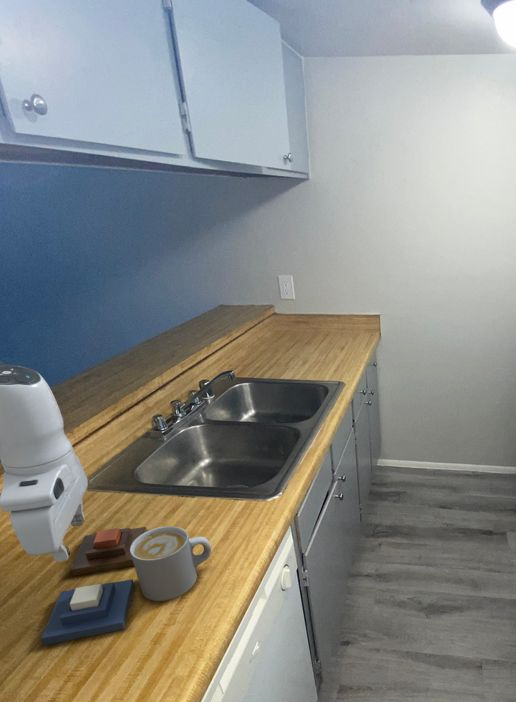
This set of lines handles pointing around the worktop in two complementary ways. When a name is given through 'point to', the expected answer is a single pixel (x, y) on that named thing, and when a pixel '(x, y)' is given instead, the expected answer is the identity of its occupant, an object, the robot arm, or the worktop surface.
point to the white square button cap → (86, 597)
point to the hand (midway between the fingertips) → (71, 540)
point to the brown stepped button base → (105, 553)
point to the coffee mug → (167, 561)
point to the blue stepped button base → (90, 614)
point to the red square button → (107, 538)
